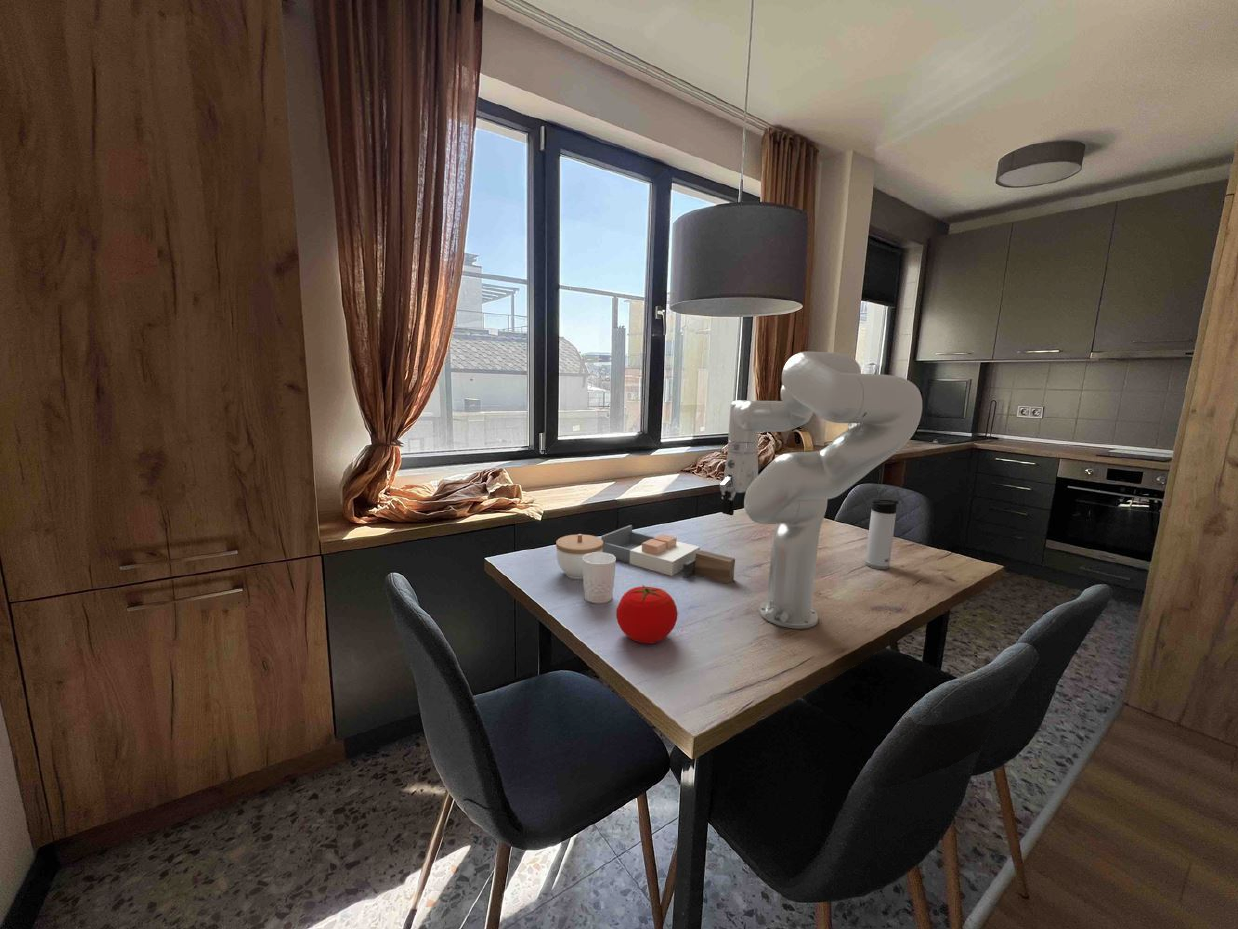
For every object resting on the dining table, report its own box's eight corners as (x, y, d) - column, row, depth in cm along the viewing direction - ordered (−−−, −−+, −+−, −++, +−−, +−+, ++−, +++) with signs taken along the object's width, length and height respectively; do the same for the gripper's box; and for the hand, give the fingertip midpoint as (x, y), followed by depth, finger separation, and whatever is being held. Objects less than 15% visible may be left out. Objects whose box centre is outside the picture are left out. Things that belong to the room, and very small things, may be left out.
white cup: (607, 607, 111) (608, 566, 109) (576, 601, 114) (577, 560, 112) (619, 593, 118) (620, 555, 117) (589, 588, 121) (590, 550, 119)
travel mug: (892, 571, 138) (901, 503, 135) (866, 568, 140) (874, 501, 137) (888, 564, 144) (896, 498, 141) (863, 561, 146) (871, 496, 143)
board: (671, 575, 130) (672, 561, 130) (629, 563, 138) (630, 550, 138) (699, 559, 143) (699, 546, 142) (658, 549, 151) (659, 537, 151)
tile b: (667, 549, 139) (667, 541, 139) (652, 545, 142) (653, 538, 142) (676, 545, 143) (676, 537, 143) (661, 541, 146) (662, 534, 146)
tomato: (606, 633, 100) (607, 584, 98) (652, 617, 107) (654, 572, 105) (639, 658, 91) (641, 606, 89) (687, 640, 98) (689, 591, 96)
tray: (629, 563, 138) (630, 543, 137) (600, 555, 145) (601, 535, 144) (657, 550, 150) (658, 531, 149) (629, 542, 157) (630, 525, 156)
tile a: (656, 555, 134) (656, 547, 134) (641, 551, 137) (641, 543, 137) (665, 550, 138) (666, 542, 138) (651, 546, 141) (651, 538, 141)
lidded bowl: (556, 584, 123) (556, 542, 121) (555, 566, 135) (555, 528, 133) (605, 582, 125) (606, 541, 123) (599, 564, 137) (600, 527, 135)
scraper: (721, 589, 123) (722, 566, 122) (682, 577, 130) (683, 556, 129) (740, 575, 133) (741, 554, 132) (703, 565, 139) (704, 545, 138)
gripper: (736, 452, 118) (732, 520, 121) (771, 447, 130) (766, 508, 133) (711, 448, 123) (707, 513, 126) (747, 444, 135) (742, 503, 138)
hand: (737, 511), depth 129 cm, fingers open, 9 cm apart
